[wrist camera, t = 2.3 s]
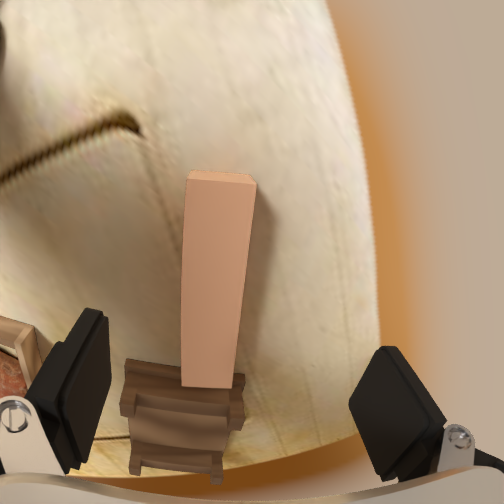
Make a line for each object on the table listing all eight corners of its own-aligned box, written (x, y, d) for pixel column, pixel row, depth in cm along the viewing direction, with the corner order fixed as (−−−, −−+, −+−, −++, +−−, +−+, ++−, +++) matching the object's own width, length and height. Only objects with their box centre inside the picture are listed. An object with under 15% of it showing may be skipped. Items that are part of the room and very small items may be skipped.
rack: (126, 358, 26) (115, 397, 21) (244, 374, 28) (250, 414, 23) (132, 443, 31) (127, 475, 27) (220, 454, 33) (222, 486, 29)
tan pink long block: (191, 169, 21) (186, 178, 17) (249, 174, 22) (256, 184, 18) (184, 354, 27) (181, 386, 23) (229, 357, 27) (231, 388, 24)
